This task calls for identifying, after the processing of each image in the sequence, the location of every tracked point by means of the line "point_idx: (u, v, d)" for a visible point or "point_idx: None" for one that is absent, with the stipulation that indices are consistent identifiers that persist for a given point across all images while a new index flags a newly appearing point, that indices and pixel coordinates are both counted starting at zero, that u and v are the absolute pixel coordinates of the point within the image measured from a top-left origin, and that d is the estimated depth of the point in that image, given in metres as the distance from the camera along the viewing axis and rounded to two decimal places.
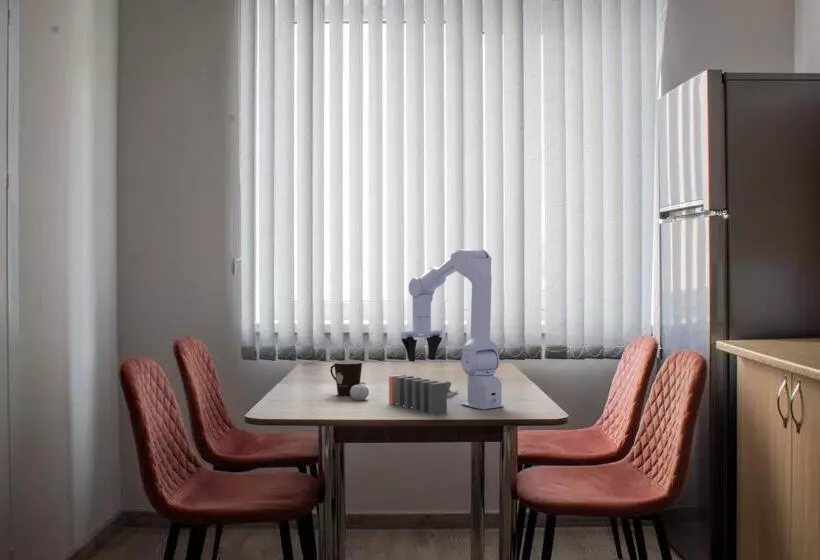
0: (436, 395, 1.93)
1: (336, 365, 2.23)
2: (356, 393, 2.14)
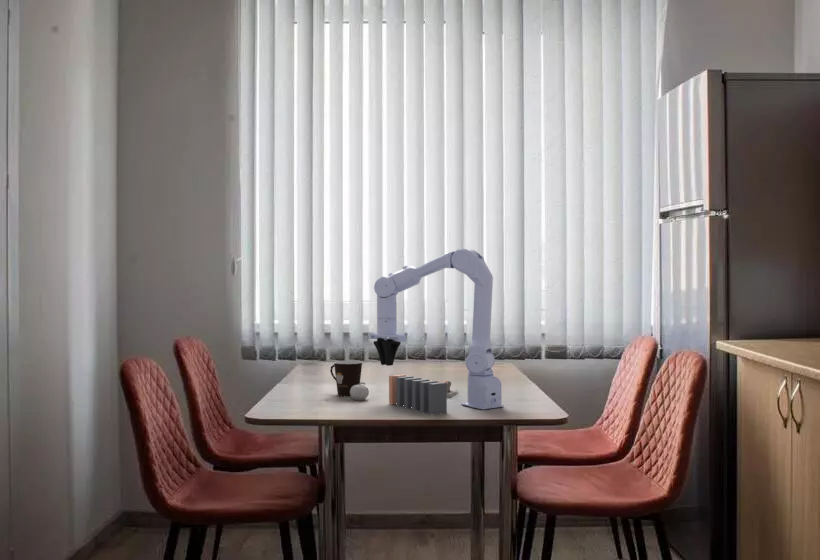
0: (436, 395, 1.93)
1: (336, 365, 2.23)
2: (355, 393, 2.14)
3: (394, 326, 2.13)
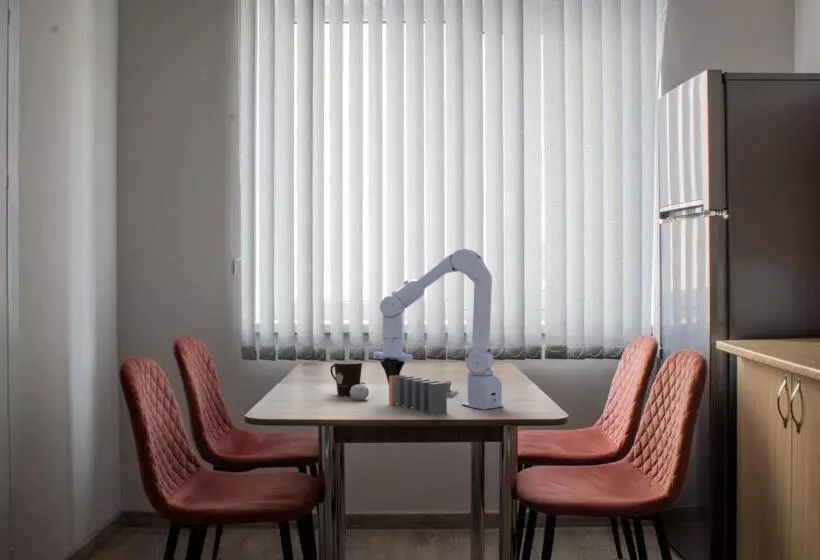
0: (436, 395, 1.93)
1: (336, 365, 2.23)
2: (356, 393, 2.14)
3: (400, 346, 2.11)
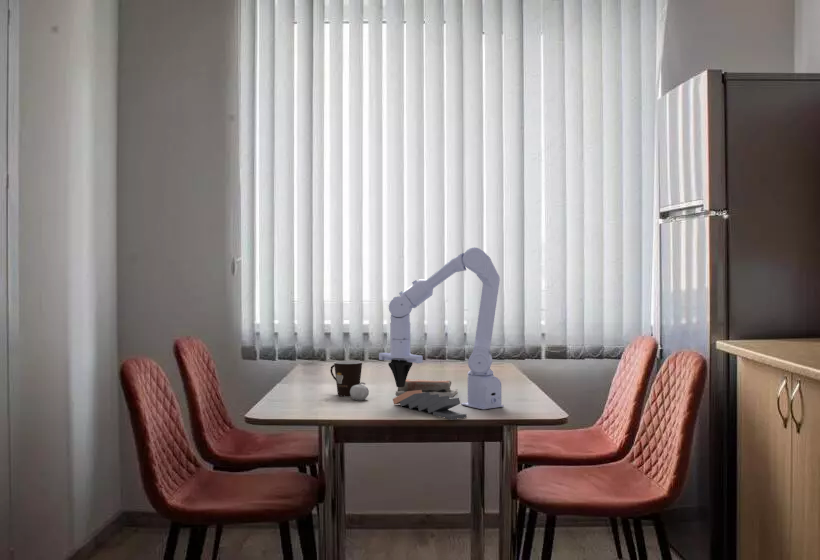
0: None
1: (336, 365, 2.23)
2: (356, 393, 2.14)
3: (409, 347, 2.08)
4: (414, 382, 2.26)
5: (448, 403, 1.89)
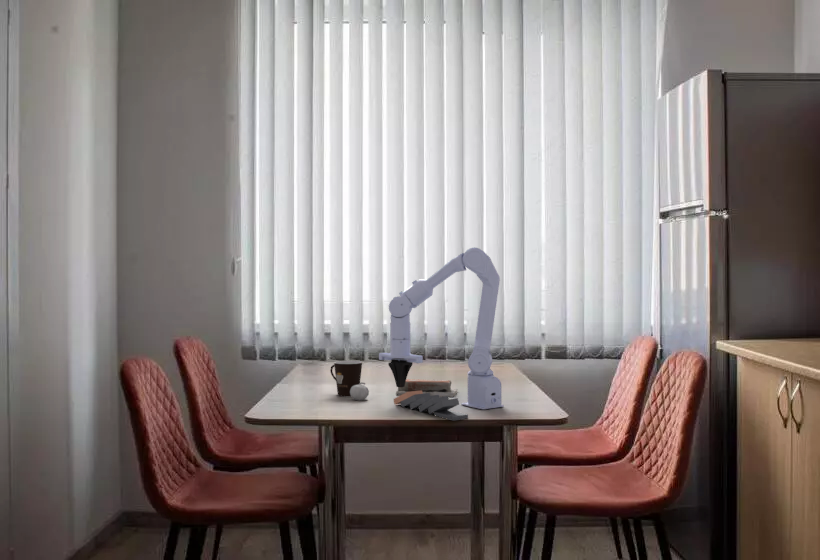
0: None
1: (336, 365, 2.23)
2: (356, 393, 2.14)
3: (409, 347, 2.08)
4: (414, 382, 2.26)
5: (446, 404, 1.87)
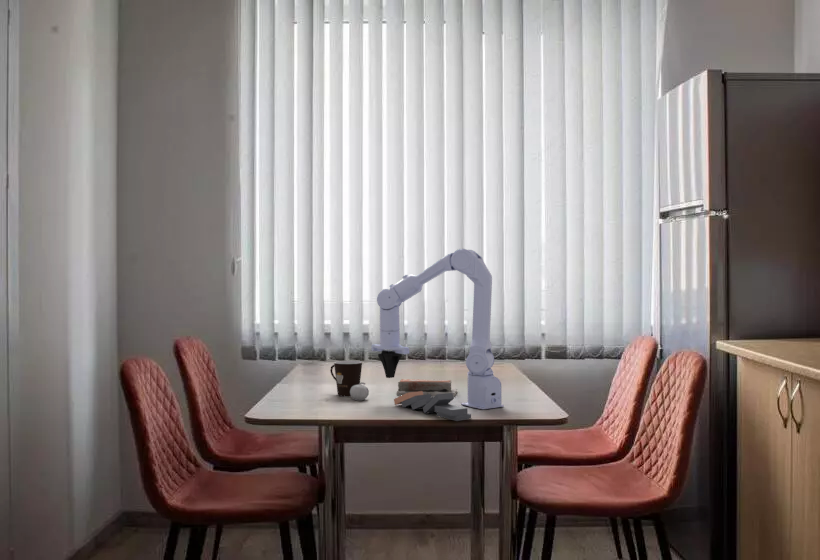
0: None
1: (336, 365, 2.23)
2: (356, 393, 2.14)
3: (397, 338, 2.12)
4: (415, 382, 2.26)
5: (455, 414, 1.85)
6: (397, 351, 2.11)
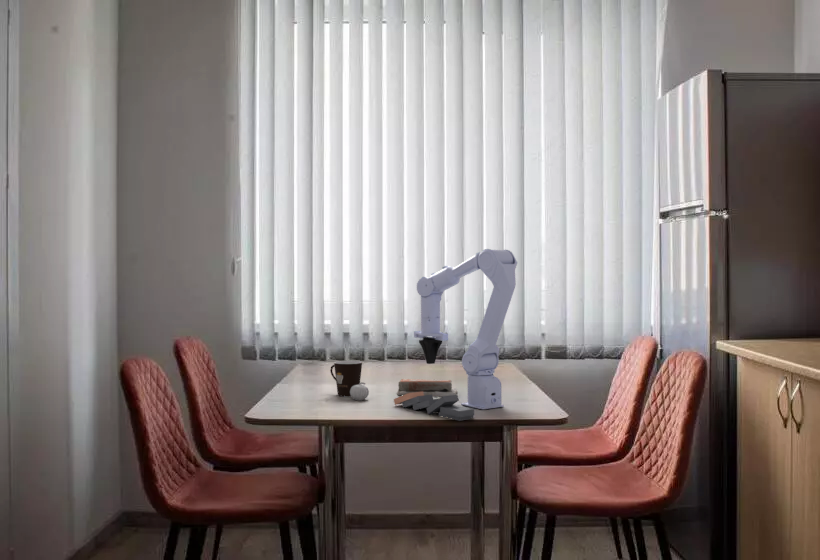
0: None
1: (336, 365, 2.23)
2: (355, 393, 2.14)
3: (437, 325, 2.16)
4: (415, 382, 2.25)
5: (462, 415, 1.84)
6: (437, 338, 2.15)
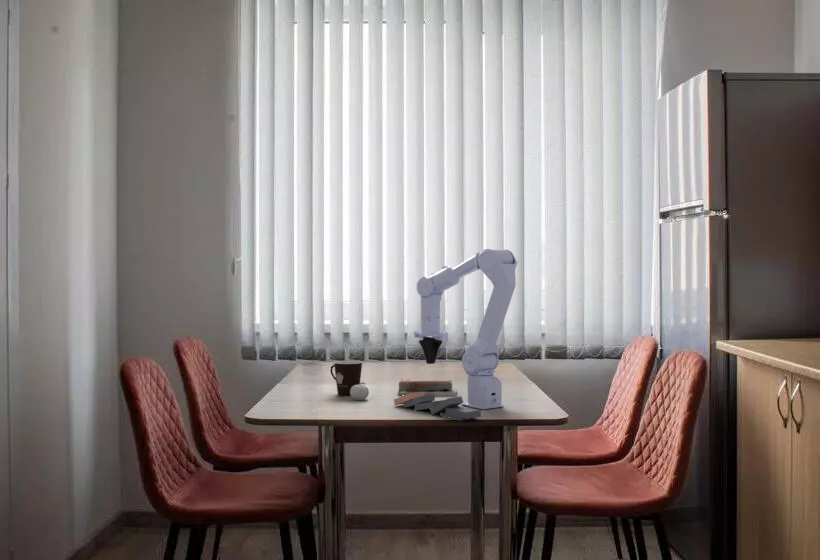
0: None
1: (336, 365, 2.23)
2: (356, 393, 2.14)
3: (437, 325, 2.16)
4: (416, 382, 2.25)
5: (469, 416, 1.84)
6: (437, 338, 2.15)
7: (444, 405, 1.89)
